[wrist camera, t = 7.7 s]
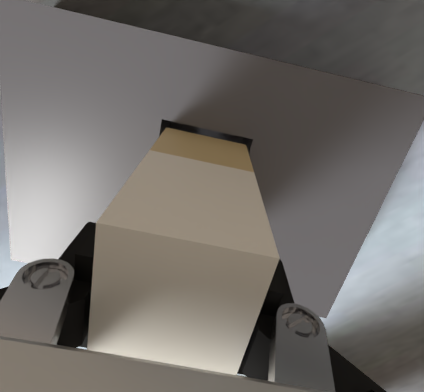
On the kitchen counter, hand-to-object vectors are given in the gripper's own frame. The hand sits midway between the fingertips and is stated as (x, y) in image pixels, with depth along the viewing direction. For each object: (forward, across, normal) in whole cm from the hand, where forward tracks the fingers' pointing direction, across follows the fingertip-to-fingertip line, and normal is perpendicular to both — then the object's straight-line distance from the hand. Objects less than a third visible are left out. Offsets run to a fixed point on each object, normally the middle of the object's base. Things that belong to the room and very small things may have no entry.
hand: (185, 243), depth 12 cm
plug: (+5, 0, 0) cm, 5 cm away
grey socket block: (+10, 0, 0) cm, 10 cm away
